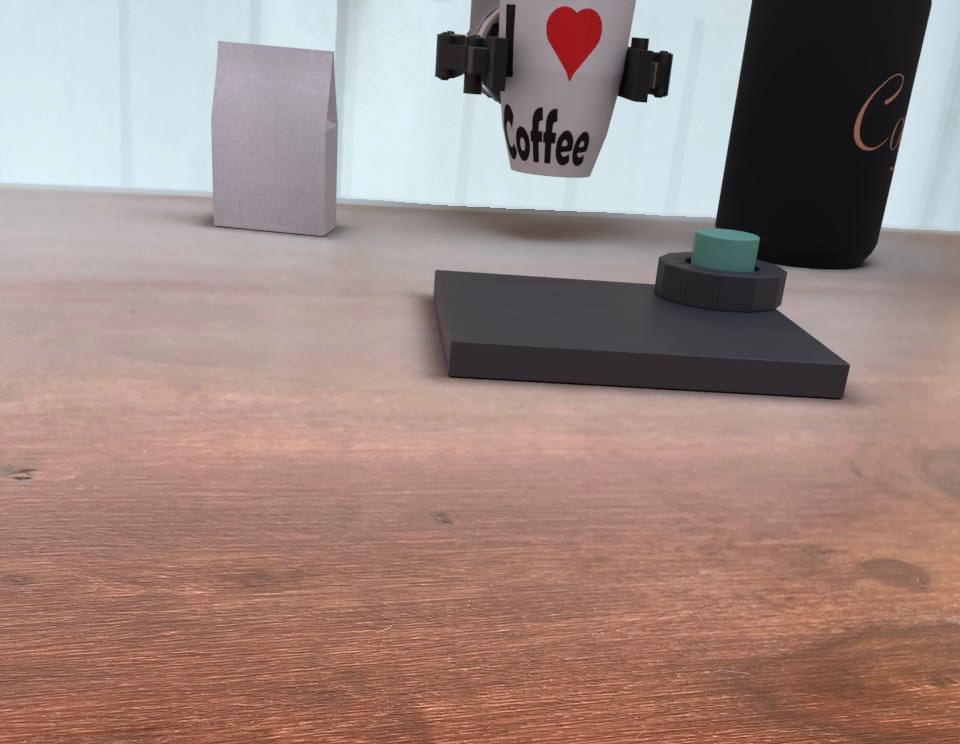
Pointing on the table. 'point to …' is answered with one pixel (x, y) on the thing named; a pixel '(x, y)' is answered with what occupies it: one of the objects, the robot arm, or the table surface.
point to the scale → (635, 331)
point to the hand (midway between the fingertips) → (572, 70)
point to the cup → (561, 81)
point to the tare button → (725, 250)
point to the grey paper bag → (274, 139)
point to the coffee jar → (819, 126)
